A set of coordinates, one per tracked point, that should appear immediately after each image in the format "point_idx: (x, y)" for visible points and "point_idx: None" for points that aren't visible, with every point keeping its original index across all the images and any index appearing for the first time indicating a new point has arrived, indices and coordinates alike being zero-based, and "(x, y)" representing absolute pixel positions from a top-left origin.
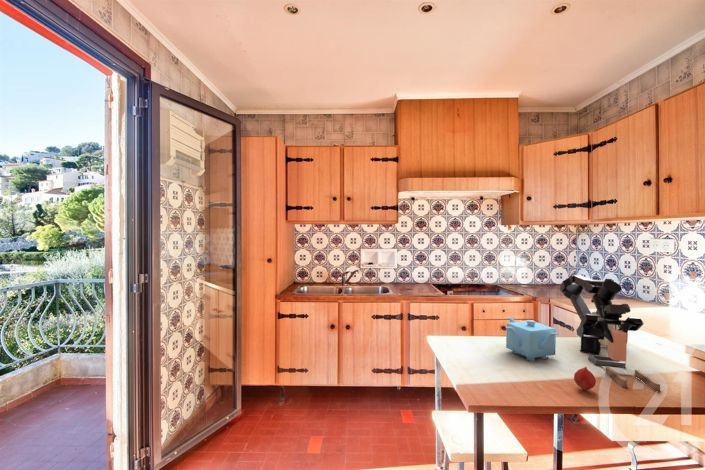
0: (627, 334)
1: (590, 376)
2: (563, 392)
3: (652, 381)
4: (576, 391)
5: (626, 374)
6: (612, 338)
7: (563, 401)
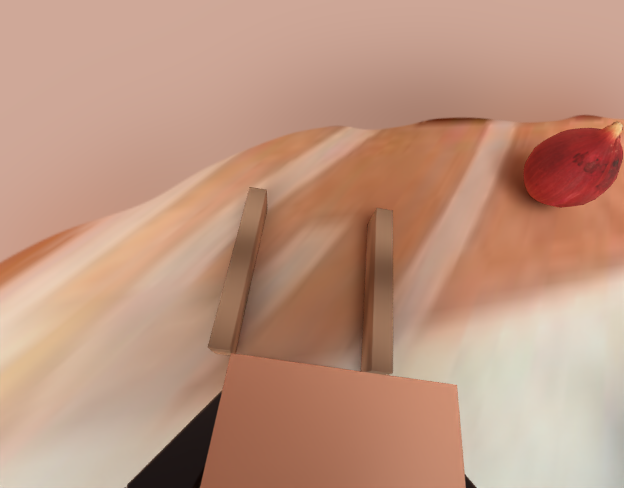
0: (132, 482)
1: (574, 129)
2: None
3: (260, 211)
4: None
5: None
6: None
7: None
